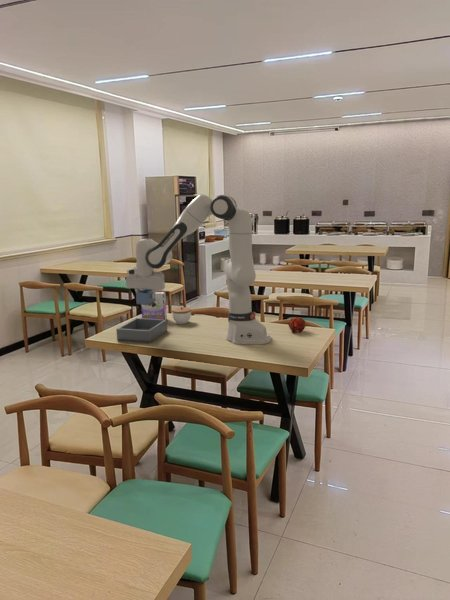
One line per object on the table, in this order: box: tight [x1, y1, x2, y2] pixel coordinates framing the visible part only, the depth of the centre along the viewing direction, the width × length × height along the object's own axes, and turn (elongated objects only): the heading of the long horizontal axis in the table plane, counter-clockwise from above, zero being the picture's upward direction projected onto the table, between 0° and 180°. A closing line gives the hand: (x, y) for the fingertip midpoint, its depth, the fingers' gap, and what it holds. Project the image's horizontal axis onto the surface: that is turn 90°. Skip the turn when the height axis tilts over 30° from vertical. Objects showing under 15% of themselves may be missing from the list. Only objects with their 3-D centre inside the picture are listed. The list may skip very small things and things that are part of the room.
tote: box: [135, 289, 155, 306], centre depth 240 cm, size 6×10×6 cm, turn 164°
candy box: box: [140, 291, 168, 320], centre depth 273 cm, size 14×6×16 cm, turn 84°
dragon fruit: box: [288, 316, 307, 334], centre depth 246 cm, size 8×8×12 cm
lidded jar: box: [171, 306, 192, 325], centre depth 267 cm, size 11×11×9 cm
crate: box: [116, 317, 168, 344], centre depth 244 cm, size 18×22×6 cm
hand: (145, 297), depth 240 cm, fingers closed on tote, 6 cm apart
